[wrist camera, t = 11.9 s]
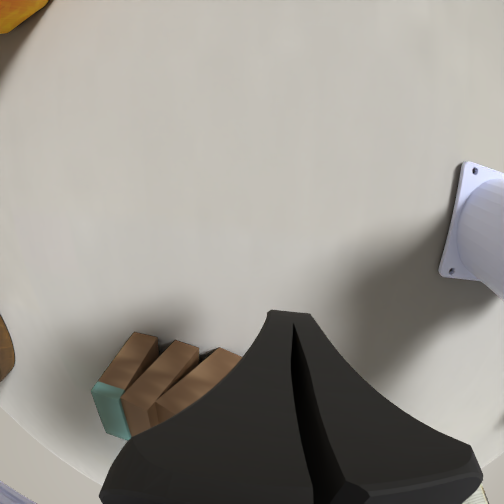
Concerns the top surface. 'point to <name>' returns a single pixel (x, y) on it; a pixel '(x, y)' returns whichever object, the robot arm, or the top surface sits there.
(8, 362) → the wooden container
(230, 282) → the top surface
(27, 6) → the bucket of meat
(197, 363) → the domino
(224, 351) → the domino
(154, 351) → the domino
